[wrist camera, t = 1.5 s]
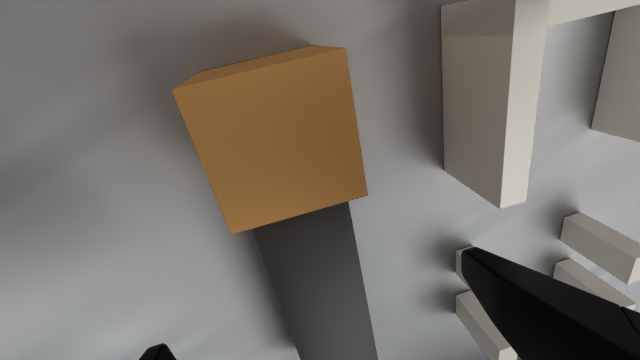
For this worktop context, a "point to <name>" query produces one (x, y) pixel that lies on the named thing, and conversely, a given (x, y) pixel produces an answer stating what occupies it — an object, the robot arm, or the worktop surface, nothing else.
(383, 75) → the worktop surface
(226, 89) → the stamp-like rod
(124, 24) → the worktop surface
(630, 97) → the cream arch-shaped block
